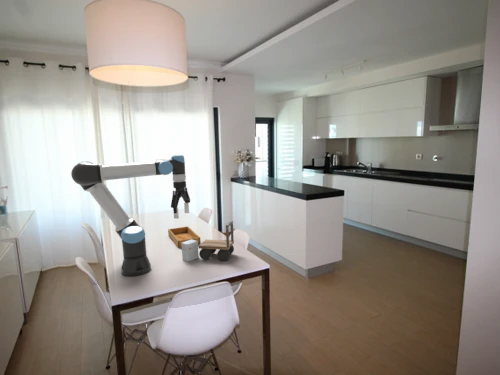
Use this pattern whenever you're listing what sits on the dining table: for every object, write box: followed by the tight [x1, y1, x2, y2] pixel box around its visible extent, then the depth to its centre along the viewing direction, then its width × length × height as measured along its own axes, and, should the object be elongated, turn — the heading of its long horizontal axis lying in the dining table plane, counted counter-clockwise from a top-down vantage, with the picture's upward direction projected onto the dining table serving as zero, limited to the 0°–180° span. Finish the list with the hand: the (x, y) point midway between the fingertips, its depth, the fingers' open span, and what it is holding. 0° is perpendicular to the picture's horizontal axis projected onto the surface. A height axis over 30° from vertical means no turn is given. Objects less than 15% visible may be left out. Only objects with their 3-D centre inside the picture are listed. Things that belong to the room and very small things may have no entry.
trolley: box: [198, 220, 235, 262], centre depth 183 cm, size 12×18×21 cm, turn 78°
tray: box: [167, 226, 201, 249], centre depth 220 cm, size 31×15×6 cm, turn 26°
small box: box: [181, 239, 200, 263], centre depth 183 cm, size 8×6×10 cm
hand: (181, 215), depth 189 cm, fingers open, 13 cm apart
